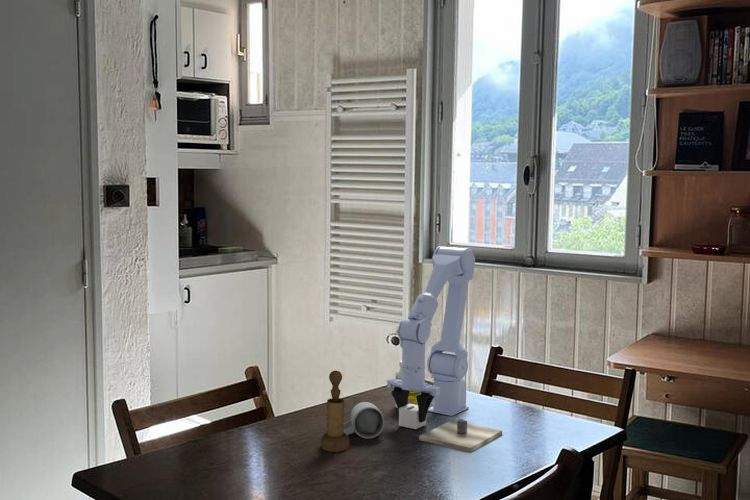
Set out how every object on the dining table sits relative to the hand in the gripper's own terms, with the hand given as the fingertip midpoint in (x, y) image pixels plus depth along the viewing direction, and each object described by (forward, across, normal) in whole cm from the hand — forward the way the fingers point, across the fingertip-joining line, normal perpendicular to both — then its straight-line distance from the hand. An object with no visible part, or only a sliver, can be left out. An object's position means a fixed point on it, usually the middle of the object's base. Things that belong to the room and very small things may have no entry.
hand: (412, 419), depth 207 cm
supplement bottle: (+2, -10, +13) cm, 16 cm away
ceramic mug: (+2, -7, -13) cm, 15 cm away
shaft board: (+2, +14, 0) cm, 14 cm away
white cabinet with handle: (+1, 0, 0) cm, 1 cm away
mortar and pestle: (+2, -6, -24) cm, 25 cm away
